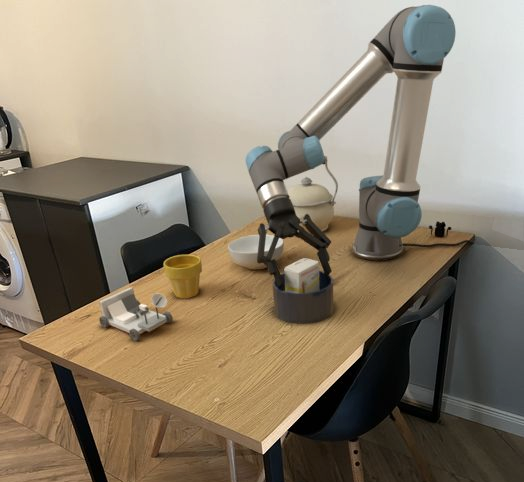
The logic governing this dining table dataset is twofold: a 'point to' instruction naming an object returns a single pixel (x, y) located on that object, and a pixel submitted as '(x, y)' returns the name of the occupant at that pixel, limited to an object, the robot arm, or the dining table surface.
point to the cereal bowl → (252, 250)
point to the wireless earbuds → (440, 229)
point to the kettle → (313, 201)
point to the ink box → (302, 276)
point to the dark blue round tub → (304, 302)
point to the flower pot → (184, 274)
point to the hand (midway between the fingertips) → (305, 279)
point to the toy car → (133, 313)
